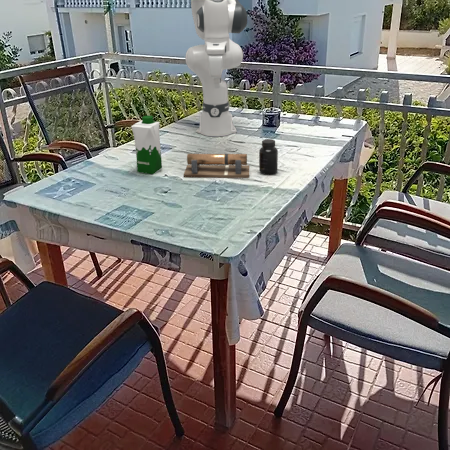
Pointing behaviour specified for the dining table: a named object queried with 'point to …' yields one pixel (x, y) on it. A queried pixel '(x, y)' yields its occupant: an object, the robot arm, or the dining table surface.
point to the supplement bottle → (268, 157)
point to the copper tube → (217, 159)
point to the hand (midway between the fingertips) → (218, 85)
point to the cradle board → (217, 171)
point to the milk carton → (147, 145)
